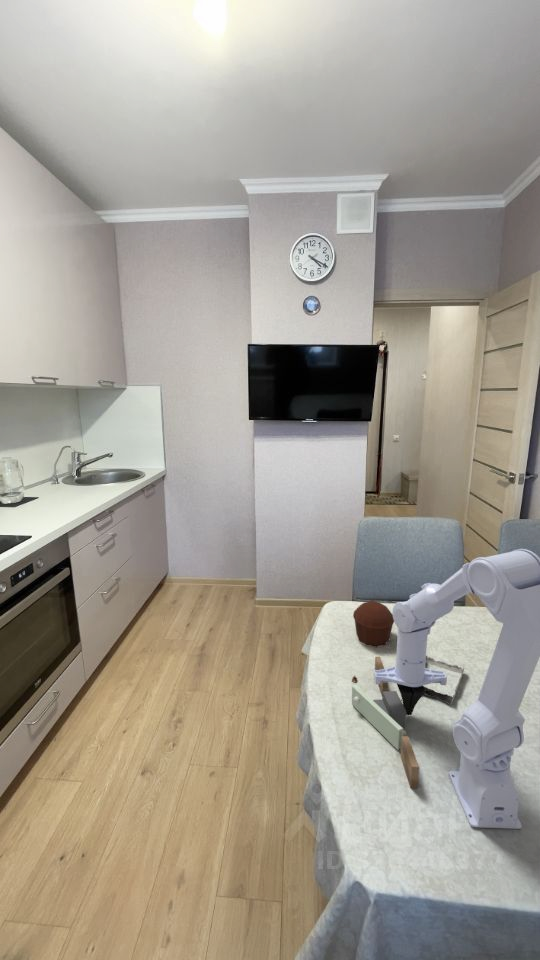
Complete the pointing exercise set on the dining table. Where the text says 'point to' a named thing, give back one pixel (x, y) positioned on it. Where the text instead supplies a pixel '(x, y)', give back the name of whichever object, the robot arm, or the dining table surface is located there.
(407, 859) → the dining table surface
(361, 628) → the muffin
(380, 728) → the door
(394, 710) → the grey stepped block
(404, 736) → the brown wooden plank
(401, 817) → the dining table surface
